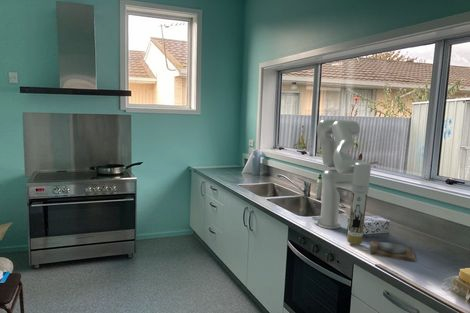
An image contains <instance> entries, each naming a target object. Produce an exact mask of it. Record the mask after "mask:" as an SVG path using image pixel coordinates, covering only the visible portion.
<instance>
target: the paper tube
mask: <svg viewBox="0 0 470 313" xmlns="http://www.w3.org/2000/svg"><path fill="white" fill-rule="evenodd" d="M350 199H351V200H350V209H349V218H348V228H347V238H346V239H347V240H346V241H347V242H348V243H349V244H351V245H357V246H358V245H361V244H362V243H363V237H364V236H363V235H364V229H365V227H364V226H365V219H366V218H365V217H366V207H367V200H368V193H365V207H364V214H362V213H361V214H360V228H355V227H352V225H353V219H354V213H353V199H354V192H353V191H351V198H350ZM358 199H359V198H358ZM356 209H357V207H356ZM359 209H360V206H359ZM354 211H355V212H356V210H354ZM359 213H360V211H359Z"/></svg>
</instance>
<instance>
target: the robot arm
mask: <svg viewBox="0 0 470 313" xmlns="http://www.w3.org/2000/svg"><path fill="white" fill-rule="evenodd" d="M316 129H317V130H316V133H317V138H318V140H319V143H320V147H321V157H322V164H323V166H324V167H325V168H328V169H326V170H324V171H323V172H322V174H321V183H322V193H321V197H322V198H321V208H320V214H319V216H314V215H312V219H311V220H313V221H316V225H317V226H318V227H320V228H323V229H329V230H336V229H337V230H338V229H340V228H341V223H338V222H339V214H340V213H339V211H340V202H341V200H340V199H341V195H340V192H339V191H338V189H337V188H351V192H352V191H353V192H354V199H353V213H354V219H353V225H352V227H355V228H360V214H361V213H362V214H364V207H365V193H367V194H369V190H370V189H369V188H370V180H371V173H372V172H371V170H372V166H371V164H370V163H368V162H365V161H364V160H362V159H352V156H351V154H350V153H349V152H348V151H349V150H351V149H352V148H354V146H355V140H354V138H356V137H358V136H359V135H360V131H361V127H360V124H359V123H358V121H355V120H349V119H347V120H346V119H332V118H327V119H322V120H319V121H318V123H317V127H316ZM332 135H333V137H334V138H333V137H332ZM358 198H359V199H358ZM359 206H360V209H359ZM356 207H357V209H356ZM354 210H356V212H355V211H354ZM359 211H360V213H359Z"/></svg>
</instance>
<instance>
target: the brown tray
mask: <svg viewBox="0 0 470 313" xmlns="http://www.w3.org/2000/svg"><path fill="white" fill-rule="evenodd" d="M370 255H372V256H376V257H377V256H379V257H383V256H384V258H390V259H396V260H402V261H406V262H407V261H408V262H413V263H415V262H416V256H415V253H414V250H413V248H412V247H411V246H405V245H401V244H397V243H394V242H380V241H373V240H370Z"/></svg>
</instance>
